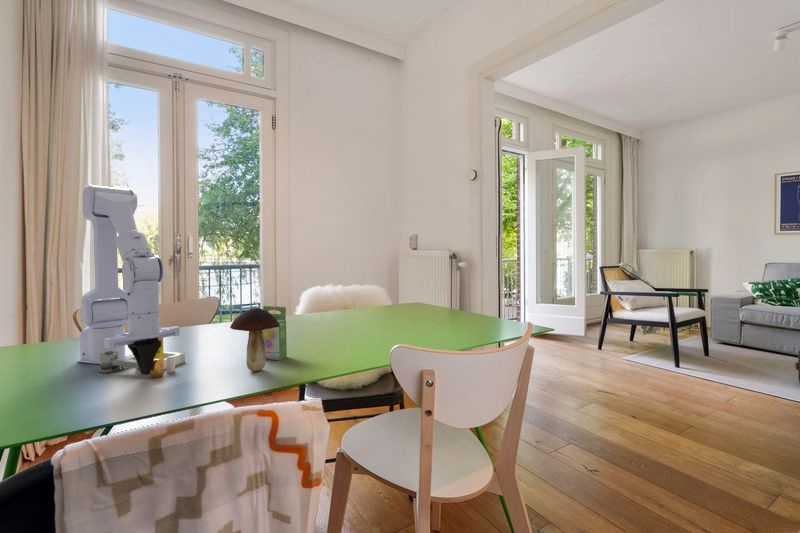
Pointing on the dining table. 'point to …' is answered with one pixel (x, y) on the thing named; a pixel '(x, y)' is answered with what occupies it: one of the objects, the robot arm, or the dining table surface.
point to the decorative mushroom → (255, 334)
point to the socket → (165, 358)
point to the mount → (109, 370)
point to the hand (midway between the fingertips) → (145, 374)
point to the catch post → (171, 364)
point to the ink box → (276, 336)
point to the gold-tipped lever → (129, 363)
